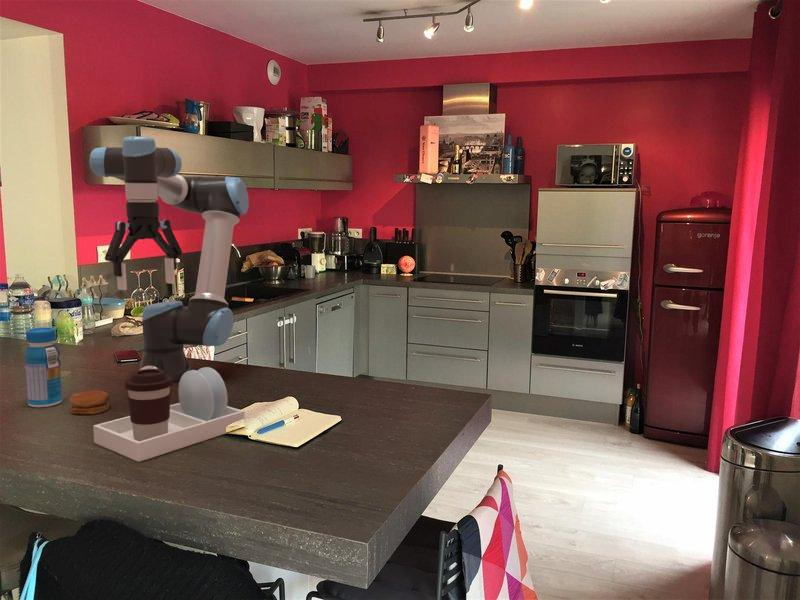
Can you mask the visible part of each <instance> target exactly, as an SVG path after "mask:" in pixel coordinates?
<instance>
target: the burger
mask: <svg viewBox="0 0 800 600" xmlns="http://www.w3.org/2000/svg"><path fill="white" fill-rule="evenodd" d="M110 397H111V395H110V394H109V393H107V392H106V391H104V390H103V391H102V390H97V389H95V390H94V389H93V390H86V391H81V392H75V393H73V394H71V396H70V397H69V403H70V405H71V408H70V410H69V412H70V414H73V415H96V414H101V413H104V412H106V411H108V410H109V409H110V405H109V401H110V399H111V398H110Z"/></svg>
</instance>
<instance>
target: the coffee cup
mask: <svg viewBox="0 0 800 600" xmlns="http://www.w3.org/2000/svg"><path fill="white" fill-rule="evenodd" d="M172 385H173V382H172V377H171V376H169V375H166V373H165V371H164V370H161V369H144V370H139V369H138V370H135V371H134V372H132V373H131V375H130V377H128V378H126V379H125V380H124V389H125V390H127V393H128V395H127V401H128V403H127V404H128V411H129V416H130V420H131V422H132V428H133V436H134V439H135V440H137V441H143V440H146V439H150V438H153V437H156V436H160V435H163V434H166V433H168V419H169V417H170V405H171V392H170V388H171V387H172Z"/></svg>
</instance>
